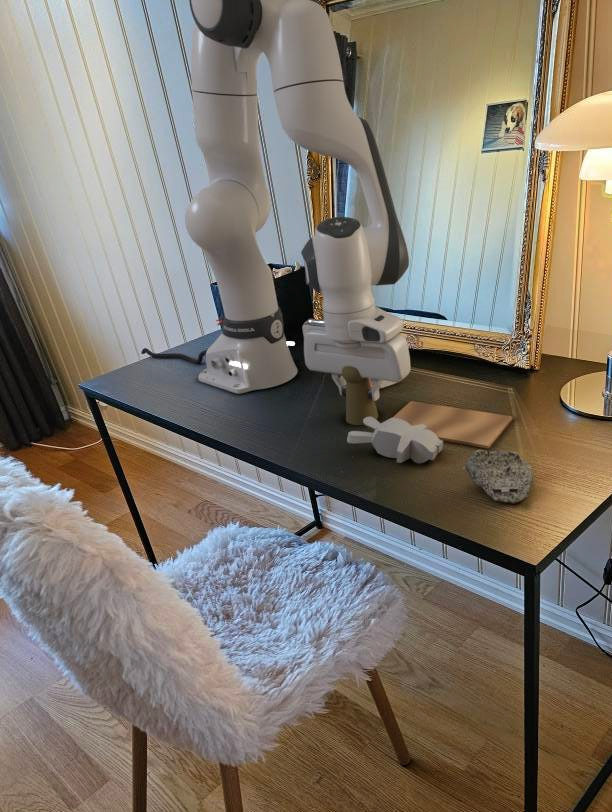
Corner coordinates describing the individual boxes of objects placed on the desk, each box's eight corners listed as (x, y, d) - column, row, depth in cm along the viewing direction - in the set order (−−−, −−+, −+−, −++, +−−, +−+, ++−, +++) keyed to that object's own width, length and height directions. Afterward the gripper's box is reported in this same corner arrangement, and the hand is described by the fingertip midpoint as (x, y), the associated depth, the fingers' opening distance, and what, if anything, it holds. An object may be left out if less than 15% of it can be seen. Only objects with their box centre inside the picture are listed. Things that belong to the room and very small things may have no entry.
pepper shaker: (375, 425, 117) (368, 367, 111) (342, 425, 118) (334, 368, 112) (381, 410, 122) (375, 354, 116) (349, 410, 123) (342, 355, 117)
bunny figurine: (425, 452, 99) (341, 427, 105) (424, 479, 102) (342, 454, 108) (450, 424, 105) (370, 402, 111) (448, 450, 109) (370, 428, 114)
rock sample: (488, 495, 88) (489, 434, 90) (459, 507, 94) (460, 450, 97) (551, 507, 91) (550, 448, 94) (519, 518, 98) (518, 463, 101)
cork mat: (382, 429, 115) (382, 426, 115) (411, 403, 123) (410, 400, 122) (488, 448, 106) (488, 445, 105) (512, 419, 113) (512, 416, 113)
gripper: (290, 323, 113) (303, 396, 121) (393, 333, 103) (400, 412, 111) (311, 312, 117) (322, 383, 125) (411, 320, 108) (417, 397, 115)
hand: (360, 397), depth 118 cm, fingers closed on pepper shaker, 4 cm apart
